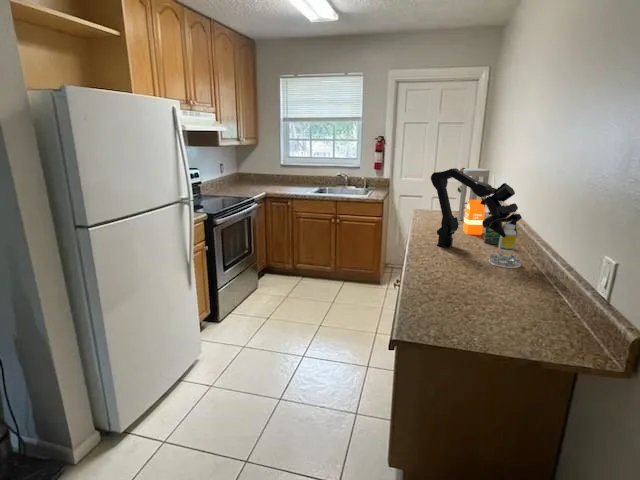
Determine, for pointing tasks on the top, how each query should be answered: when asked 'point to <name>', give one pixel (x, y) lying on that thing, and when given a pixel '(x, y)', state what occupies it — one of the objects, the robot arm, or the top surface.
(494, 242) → the coffee box
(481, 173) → the stool
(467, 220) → the orange juice
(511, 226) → the pill bottle
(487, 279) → the top surface
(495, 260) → the steel ashtray
